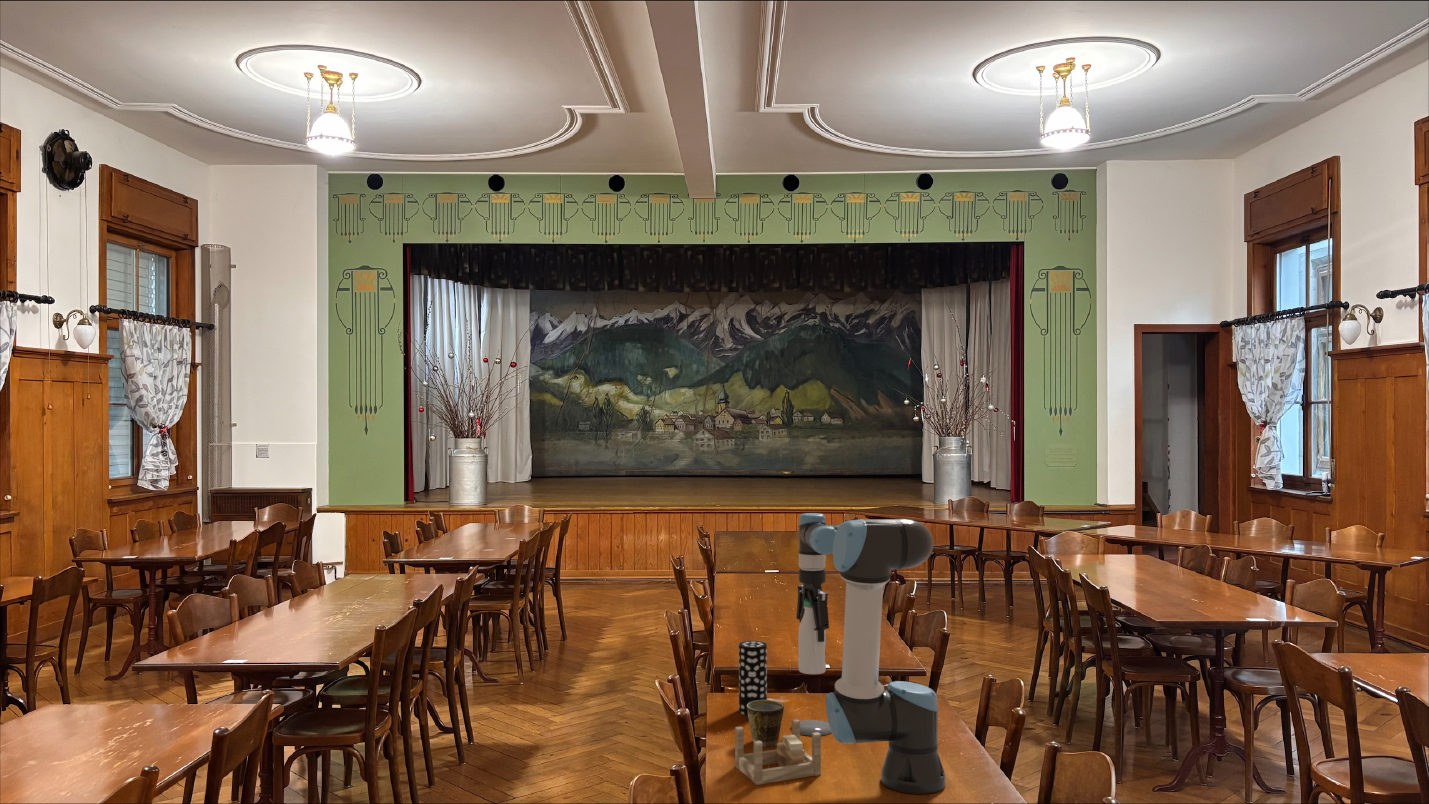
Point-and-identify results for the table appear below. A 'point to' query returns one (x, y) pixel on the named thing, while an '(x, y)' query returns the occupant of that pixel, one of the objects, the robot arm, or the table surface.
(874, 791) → the table surface
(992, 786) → the table surface
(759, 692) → the spotted tube
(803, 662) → the milk bottle
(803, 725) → the grey round disc
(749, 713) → the ceramic cup
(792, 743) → the offcut stack
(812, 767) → the rack
